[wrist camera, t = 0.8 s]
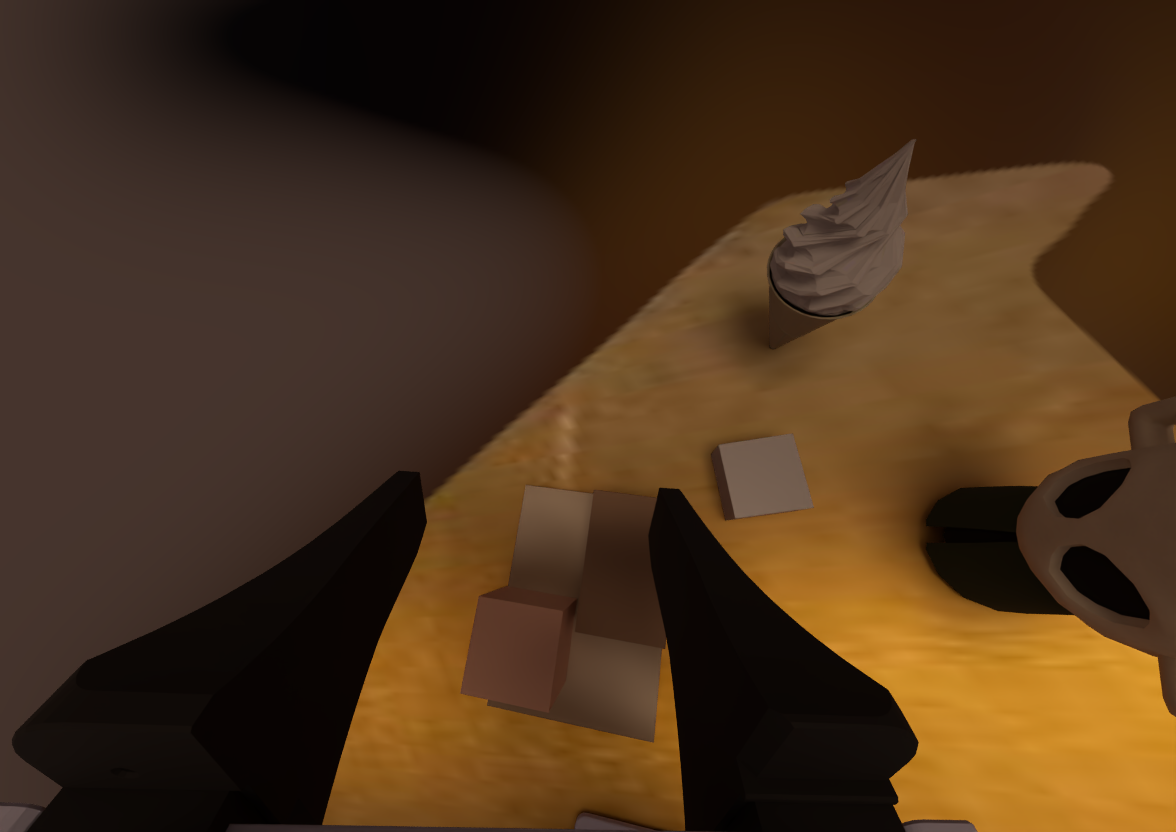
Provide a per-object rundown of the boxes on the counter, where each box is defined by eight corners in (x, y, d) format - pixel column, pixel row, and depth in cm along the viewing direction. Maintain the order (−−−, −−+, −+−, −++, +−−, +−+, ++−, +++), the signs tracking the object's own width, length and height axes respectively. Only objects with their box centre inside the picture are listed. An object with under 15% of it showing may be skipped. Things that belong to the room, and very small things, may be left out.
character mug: (909, 438, 25) (1178, 339, 12) (1051, 459, 23) (1510, 372, 11) (908, 638, 22) (1249, 771, 10) (1068, 674, 21) (1700, 881, 8)
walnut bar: (662, 635, 23) (665, 649, 20) (582, 620, 23) (574, 632, 21) (674, 504, 24) (677, 500, 22) (599, 494, 25) (593, 489, 22)
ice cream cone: (729, 376, 27) (823, 199, 13) (736, 307, 28) (830, 74, 14) (812, 387, 26) (1014, 207, 12) (816, 314, 27) (1003, 73, 13)
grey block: (794, 511, 25) (813, 507, 22) (725, 520, 25) (735, 518, 22) (776, 445, 26) (792, 433, 23) (710, 455, 26) (718, 444, 23)
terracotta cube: (565, 681, 23) (548, 712, 19) (492, 666, 23) (460, 693, 19) (577, 598, 24) (563, 611, 20) (506, 586, 24) (479, 595, 20)
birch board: (653, 733, 22) (653, 742, 21) (493, 698, 24) (487, 705, 23) (672, 505, 25) (674, 504, 24) (530, 486, 27) (525, 485, 26)
